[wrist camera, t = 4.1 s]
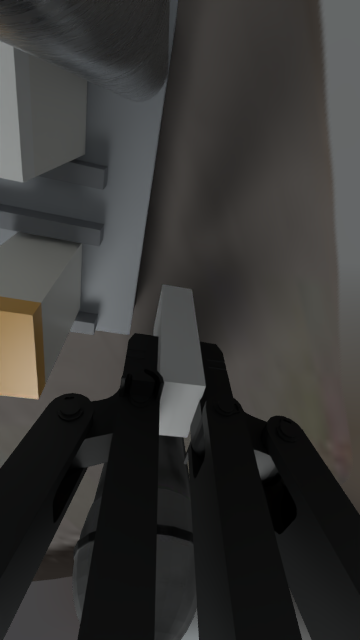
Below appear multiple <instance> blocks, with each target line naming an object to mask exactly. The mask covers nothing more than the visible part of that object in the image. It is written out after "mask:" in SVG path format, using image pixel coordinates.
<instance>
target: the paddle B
mask: <svg viewBox="0 0 360 640" xmlns="http://www.w3.org/2000/svg"><path fill="white" fill-rule="evenodd" d="M86 110H87V80H85V79H83V78H80V77H78V76H76V75H74V74H72V73H69V72H67V71H65V70H63V69H61V68H58V67H56V66H54V65H52V64H50V63H47V62H45V61H43V60H41V59H39V58H37V57H34V56H32V55H30V54H28V53H26V52H23V51H21V50H19V49H17V48H15V47H12V46H10V45H8V44H6V43H4V42H1V41H0V178H3V179H8V180H13V181H18V182H25V181H28V180H30V179H32V178H34V177H36V176H39V175H41V174H43V173H45V172H47V171H50V170H52V169H54V168H56V167H58V166H61V165H63V164H65V163H67V162H69V161H72V160H74V159H76V158H78V157H80V156H83V155H85V142H86Z"/></svg>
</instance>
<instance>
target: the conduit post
mask: <svg viewBox="0 0 360 640" xmlns="http://www.w3.org/2000/svg"><path fill="white" fill-rule="evenodd" d="M169 16H170V0H0V41H1V42H4V43H6V44H8V45H10V46H12V47H15V48H17V49H19V50H21V51H23V52H26V53H28V54H30V55H32V56H34V57H37V58H39V59H41V60H43V61H45V62H47V63H50V64H52V65H54V66H56V67H58V68H61V69H63V70H65V71H67V72H69V73H72V74H74V75H76V76H78V77H80V78H83V79H85V80H87V81H89V82H91V83H93V84H96V85H98V86H100V87H102V88H104V89H107V90H109V91H111V92H113V93H115V94H118V95H120V96H122V97H124V98H126V99H129V100H131V101H135V102H144V101H147V100H150V99H152V98H153V97H155V96H156V95H157V94H158V93H159V92H160V90H161V89H162V87H163V85H164V83H165V81H166V78H167V73H168V57H169Z"/></svg>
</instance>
